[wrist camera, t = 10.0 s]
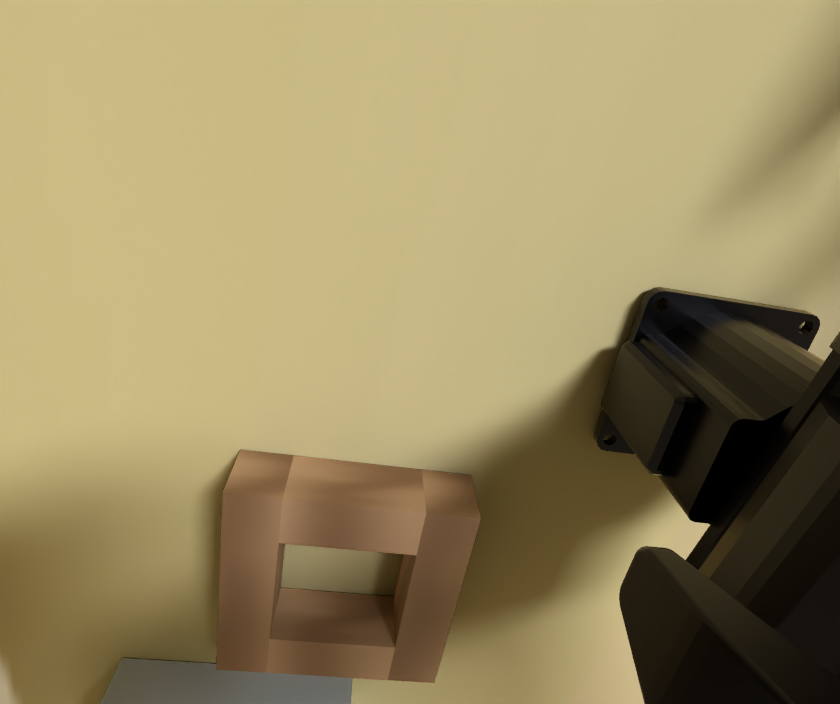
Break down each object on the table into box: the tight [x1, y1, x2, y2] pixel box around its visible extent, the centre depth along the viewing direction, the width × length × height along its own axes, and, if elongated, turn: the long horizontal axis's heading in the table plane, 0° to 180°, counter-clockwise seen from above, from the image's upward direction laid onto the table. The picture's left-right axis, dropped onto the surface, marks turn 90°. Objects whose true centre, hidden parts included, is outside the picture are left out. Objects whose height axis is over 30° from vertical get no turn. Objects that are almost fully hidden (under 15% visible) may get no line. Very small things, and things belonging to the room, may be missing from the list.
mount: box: [216, 450, 481, 683], centre depth 22 cm, size 9×9×2 cm
